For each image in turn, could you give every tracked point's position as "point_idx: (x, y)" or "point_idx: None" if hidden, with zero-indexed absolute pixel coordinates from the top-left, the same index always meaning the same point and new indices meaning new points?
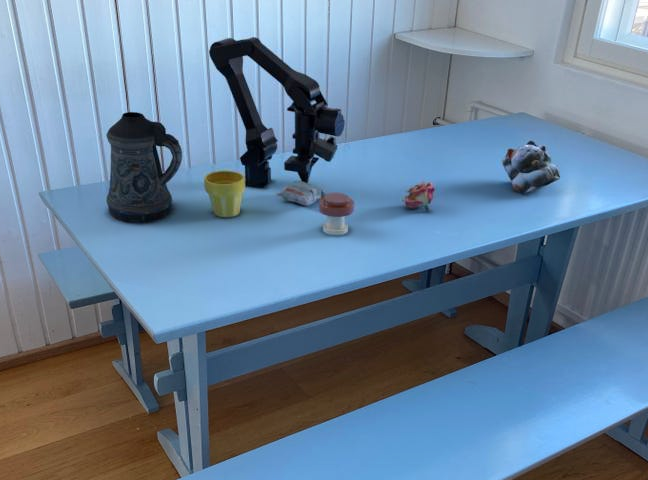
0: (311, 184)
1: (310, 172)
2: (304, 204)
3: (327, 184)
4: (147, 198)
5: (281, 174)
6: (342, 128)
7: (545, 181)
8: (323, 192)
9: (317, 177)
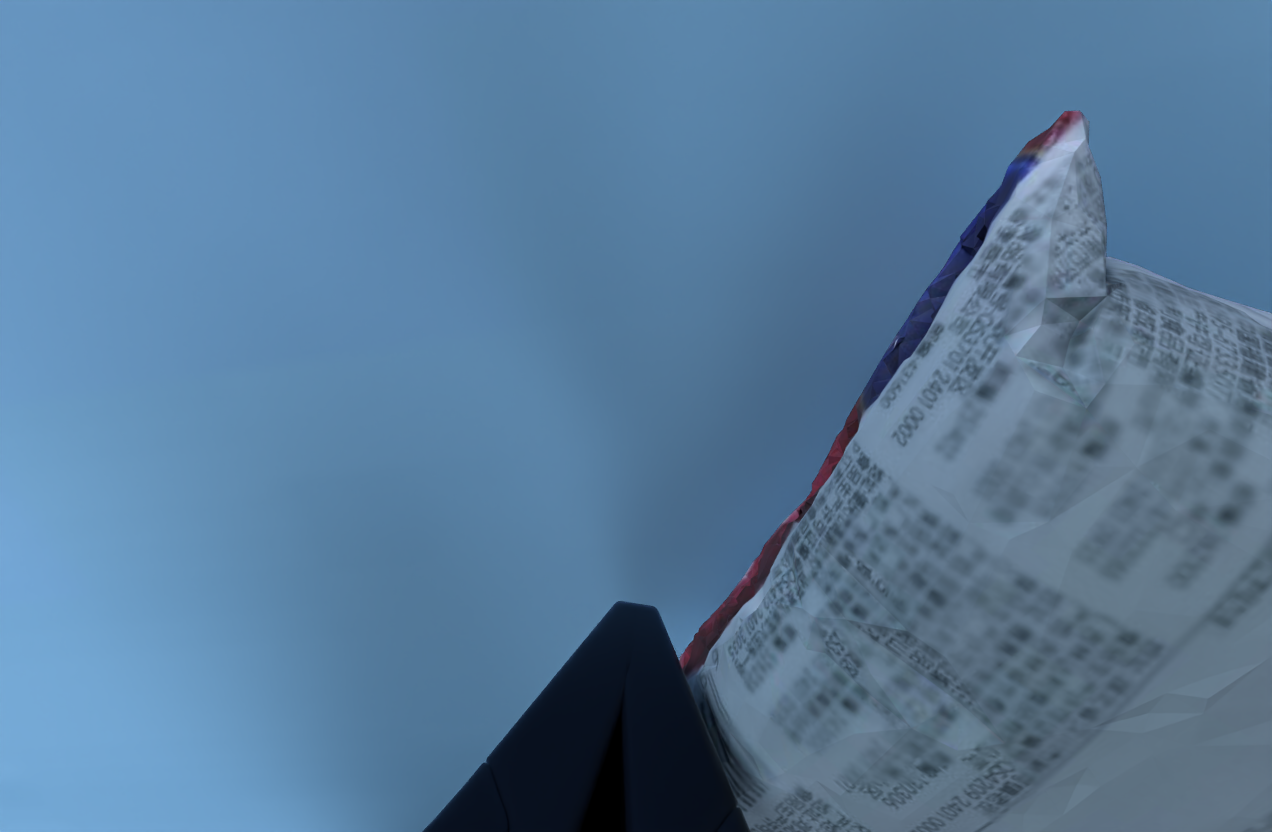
0: (1019, 606)
1: (514, 780)
2: None
3: (167, 257)
4: None
5: (188, 790)
6: None
7: None
8: (1103, 220)
9: (20, 439)
